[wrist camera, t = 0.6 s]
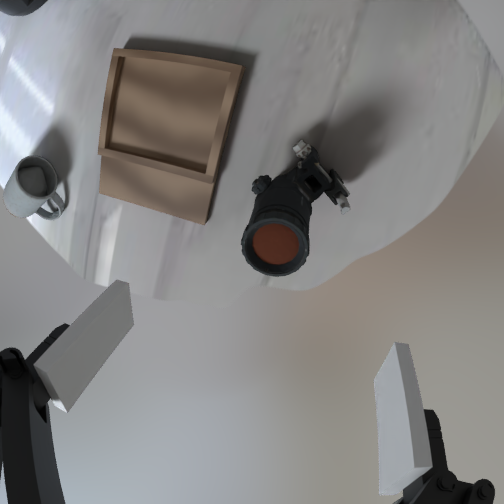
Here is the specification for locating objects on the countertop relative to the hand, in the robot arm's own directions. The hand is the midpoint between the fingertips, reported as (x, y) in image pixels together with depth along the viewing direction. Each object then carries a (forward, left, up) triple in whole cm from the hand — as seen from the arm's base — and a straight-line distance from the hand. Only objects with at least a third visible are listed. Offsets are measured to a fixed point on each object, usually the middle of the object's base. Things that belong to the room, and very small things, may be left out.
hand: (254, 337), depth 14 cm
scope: (+1, +1, -25) cm, 25 cm away
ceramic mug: (+11, -36, -25) cm, 45 cm away
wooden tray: (-1, -16, -25) cm, 30 cm away
